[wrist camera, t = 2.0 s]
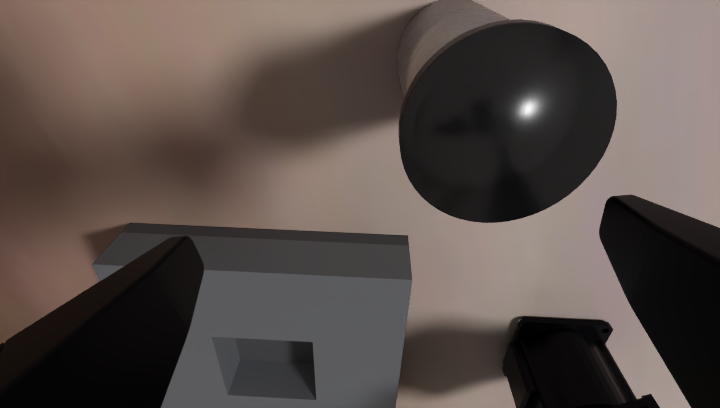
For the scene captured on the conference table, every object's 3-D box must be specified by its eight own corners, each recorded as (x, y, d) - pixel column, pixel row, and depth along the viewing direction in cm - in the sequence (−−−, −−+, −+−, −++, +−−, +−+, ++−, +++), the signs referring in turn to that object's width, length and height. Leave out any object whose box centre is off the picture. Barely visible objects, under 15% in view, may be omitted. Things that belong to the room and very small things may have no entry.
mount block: (407, 235, 25) (412, 279, 21) (389, 397, 35) (390, 444, 31) (129, 223, 25) (91, 264, 22) (189, 386, 35) (168, 431, 32)
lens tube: (521, -8, 17) (654, 28, 9) (494, 113, 20) (575, 226, 12) (395, -12, 17) (409, 20, 9) (387, 109, 20) (392, 218, 12)
